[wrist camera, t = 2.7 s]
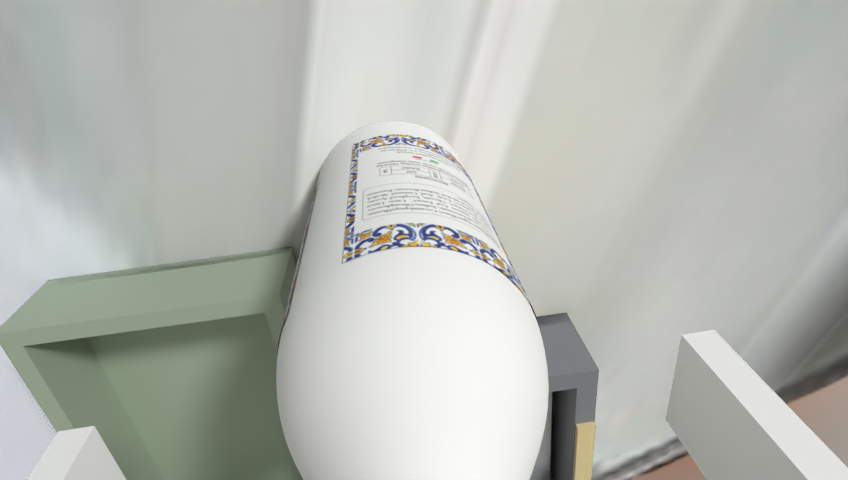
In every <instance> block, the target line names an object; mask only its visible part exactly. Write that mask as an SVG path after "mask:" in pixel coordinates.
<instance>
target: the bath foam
mask: <svg viewBox="0 0 848 480" xmlns="http://www.w3.org/2000/svg"><path fill="white" fill-rule="evenodd" d="M276 386H277V401H278V408H279V415H280V420H281V425H282V428H283V432H284V436H285V439H286V443H287V445H288V448H289V450H290V453H291V455H292V458H293V460H294V462H295V465H296V467H297V468H298V470H299V472H300V474H301V476H302V478H303V480H530V477H531V474H532V471H533V468H534V465H535V462H536V459H537V456H538V453H539V450H540V446H541V442H542V438H543V434H544V429H545V424H546V417H547V411H548V393H549V383H548V369H547V361H546V355H545V349H544V345H543V340H542V336H541V333H540V329H539V326H538V322H537V318H536V315H535V312H534V310H533V308H532V306H531V304H530V302H529V300H528V298H527V295H526V293H525V291H524V289H523V287H522V285H521V283H520V281H519V279H518V277H517V274H516V272H515V270H514V268H513V266H512V264H511V262H510V260H509V258H508V256H507V254H506V251H505V249H504V247H503V245H502V243H501V241H500V239H499V237H498V235H497V233H496V231H495V228H494V226H493V224H492V222H491V220H490V218H489V216H488V214H487V212H486V210H485V208H484V205H483V203H482V201H481V199H480V197H479V195H478V193H477V191H476V189H475V187H474V184H473V182H472V180H471V178H470V176H469V175H468V173H467V171H466V169H465V167H464V165H463V163H462V161H461V159H460V157H459V156H458V155H457V153H456V152H455V151H454V150H453V148H452V147H451V146H450V145H449V144H448V143H447V142H446V141H445V140H444V139H443V138H441V137H440V136H439V135H438V134H436V133H434V132H433V131H431V130H429V129H427V128H425V127H422V126H420V125H416V124H413V123H408V122H401V121H386V122H379V123H374V124H371V125H367V126H365V127H362V128H360V129H358V130H356V131H354V132H352V133H351V134H349V135H348V136H346V137H345V138H344V139H343V140H341V141H340V142H339V143H338V144H337V145H336V146H335V147H334V148H333V150H332V151H331V152H330V154H329V155H328V157H327V158H326V160H325V162H324V164H323V166H322V168H321V171H320V174H319V177H318V181H317V185H316V188H315V192H314V195H313V200H312V204H311V208H310V212H309V216H308V220H307V224H306V229H305V233H304V237H303V241H302V245H301V249H300V254H299V258H298V262H297V266H296V270H295V274H294V278H293V283H292V287H291V291H290V295H289V299H288V303H287V308H286V312H285V316H284V320H283V324H282V328H281V332H280V337H279V341H278V350H277V369H276Z"/></svg>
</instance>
